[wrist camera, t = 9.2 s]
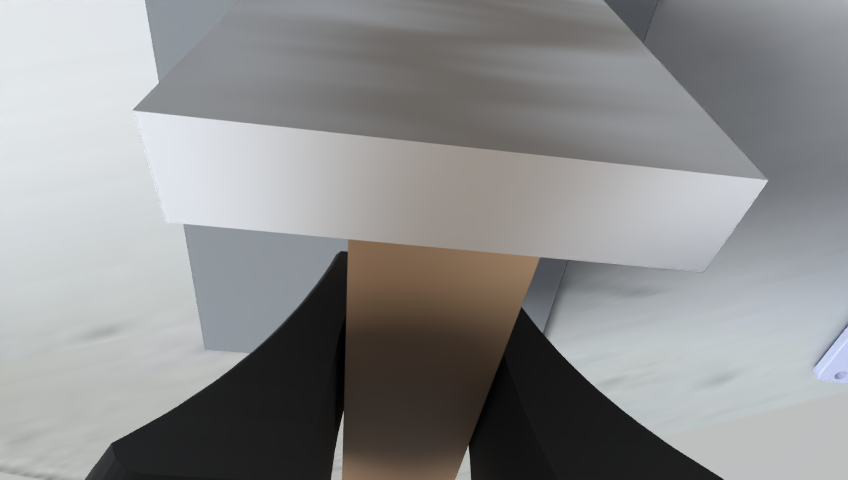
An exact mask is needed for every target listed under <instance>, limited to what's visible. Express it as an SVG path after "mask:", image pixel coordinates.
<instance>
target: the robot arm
mask: <svg viewBox="0 0 848 480" xmlns="http://www.w3.org/2000/svg"><path fill="white" fill-rule="evenodd" d="M347 270H348V252H347V251H340V252H339V253H337V254H336V256H335V257H334V259H333V261H332V263H331V264H330V266H329V267H328V269H327V270H326V272H325V273H324V275H323V276H322V277H321V279H320V280H319V281H318V283H317V284H316V285H315V287H314V288H313V289H312V290H311V292H310V293H309V294H308V295H307V297H306V298H305V299H304V300H303V301H302V303H301V304H300V305H299V306H298V307H297V308H296V309H295V310H294V311H293V313H292V314H291V315H290V316H289V317H288V318H287V319H286V320H285V321H284V322H283V323H282V324H281V325H280V326H279V327H278V328H277V329H276V330H275V331H274V332H273V333H272V334H271V335H270V336H269V337H268V338H267V339H266V340H265V341H264V342H263V343H262V344H260V345H259V346H258V347H257V348H256V349H255V350H254V351H253V352H251V353H250V354H249V355H248V356H247V357H245V358H244V359H243V360H242V361H240V362H239V363H238V364H237V365H235V366H234V367H233V368H232V369H230V370H229V371H228V372H227V373H225V374H224V375H223V376H221V377H220V378H219V379H217V380H216V381H214V382H213V383H212V384H210V385H209V386H207V387H206V388H204V389H203V390H201V391H200V392H198V393H197V394H195V395H194V396H192V397H191V398H189V399H188V400H186V401H185V402H183V403H182V404H180V405H179V406H177V407H176V408H174V409H172V410H171V411H169V412H168V413H166V414H164V415H162V416H161V417H159V418H157V419H155V420H153V421H152V422H150V423H148V424H146V425H144V426H143V427H141V428H139V429H137V430H135V431H134V432H132V433H130V434H128V435H126V436H124V437H123V438H121V439H119V440H117V441H115V442H113V443H111V445H110V446H109V447H108V449H107V450H106V452H105V453H104V454H103V456H102V457H101V458H100V460H99V461H98V462H97V464H96V465H95V466H94V467H93V469H92V470H91V472H90V473H89V474H88V476H87V477H86V479H85V480H331V474H332V467H333V460H334V453H335V447H336V442H337V437H338V432H339V427H340V423H341V419H342V415H343V411H344V388H345V349H346V309H347ZM813 373H814V374H815V376H816V377H817V378H818V379H819V380H821V381H828V382H840V383H848V327H847V328H846V329H845V330H844V332H843V333H842V334H841V335H840V336H839V338H838V339H837V340H836V341H835V343H834V344H833V345H832V346H831V348H830V349H829V350H828V351H827V353H826V354H825V355H824V356H823V358H822V359H821V360H820V361H819V363H818V364H817V365H816V366H815V368H814V370H813ZM469 454H470V467H471V480H723V479H722V478H721V477H719V476H718V475H716V474H714V473H713V472H711V471H710V470H708V469H706V468H705V467H703V466H701V465H700V464H699V463H697V462H695V461H694V460H692V459H691V458H689V457H687V456H686V455H684V454H683V453H681V452H679V451H678V450H676V449H675V448H673V447H672V446H670V445H669V444H667V443H666V442H664V441H663V440H662V439H660V438H659V437H658V436H656V435H655V434H653V433H652V432H651V431H649V430H648V429H646V428H645V427H644V426H642V425H641V424H639V423H638V422H637V421H636V420H634V419H633V418H632V417H630V416H629V415H628V414H626V413H625V412H624V411H623V410H621V409H620V408H619V407H618V406H617V405H615V404H614V403H613V402H612V401H611V400H609V399H608V398H607V397H606V396H605V395H603V394H602V393H601V392H600V391H599V390H598V389H596V388H595V387H594V386H593V385H592V384H591V383H590V382H589V381H588V380H586V379H585V378H584V377H583V376H582V375H581V374H580V373H579V372H578V371H577V370H576V369H575V368H574V367H573V366H572V365H571V364H570V363H569V362H568V361H567V360H566V359H565V358H564V357H563V356H562V355H561V354H560V353H559V352H558V350H557V349H556V348H555V347H554V346H553V345H552V344H551V343H550V341H549V340H548V339H547V338H546V337H545V336H544V334H543V333H542V332H541V331H540V330H539V328H538V327H537V326H536V325H535V323H534V322H533V321H532V319H531V318H530V317H529V316H528V314H527V313H526V312H525V310H524V309H523V308H522V306H521V309H520V311H519V314H518V317H517V319H516V322H515V324H514V327H513V330H512V332H511V335H510V337H509V340H508V343H507V345H506V348H505V351H504V353H503V356H502V358H501V361H500V364H499V366H498V369H497V371H496V374H495V377H494V379H493V382H492V384H491V387H490V390H489V392H488V395H487V398H486V400H485V403H484V405H483V408H482V411H481V413H480V416H479V418H478V421H477V424H476V426H475V429H474V431H473V434H472V437H471V439H470V442H469Z"/></svg>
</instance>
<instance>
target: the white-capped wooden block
mask: <svg viewBox="0 0 848 480" xmlns="http://www.w3.org/2000/svg"><path fill="white" fill-rule="evenodd" d="M132 111H133V115H134V118H135V122H136V125H137V128H138V132H139V135H140V139H141V142H142V145H143V149H144V152H145V155H146V159H147V162H148V166H149V169H150V172H151V176H152V179H153V183H154V186H155V189H156V193H157V196H158V200H159V203H160V206H161V210H162V213H163V216H164V220H165V222H169V223H180V224H191V225H202V226H212V227H223V228H234V229H244V230H255V231H266V232H277V233H287V234H298V235H309V236H319V237H330V238H341V239H348V270H347V309H346V349H345V388H344V428H343V468H342V480H455V478H456V476H457V473H458V471H459V468H460V465H461V463H462V460H463V458H464V455H465V452H466V450H467V447H468V444H469V442H470V439H471V437H472V434H473V431H474V429H475V426H476V424H477V421H478V418H479V416H480V413H481V411H482V408H483V405H484V403H485V400H486V398H487V395H488V392H489V390H490V387H491V384H492V382H493V379H494V377H495V374H496V371H497V369H498V366H499V364H500V361H501V358H502V356H503V353H504V351H505V348H506V345H507V343H508V340H509V337H510V335H511V332H512V330H513V327H514V324H515V322H516V319H517V317H518V314H519V311H520V309H521V306H522V304H523V301H524V298H525V296H526V293H527V290H528V288H529V285H530V283H531V280H532V277H533V275H534V272H535V270H536V267H537V264H538V262H539V259H540V257H544V258H555V259H566V260H576V261H587V262H598V263H608V264H619V265H630V266H641V267H651V268H662V269H673V270H683V271H694V272H704V271H705V270H706V268H707V267H708V265H709V264H710V263H711V261H712V260H713V258H714V257H715V256H716V254H717V253H718V251H719V250H720V249H721V247H722V246H723V244H724V243H725V241H726V240H727V239H728V237H729V236H730V234H731V233H732V232H733V230H734V229H735V227H736V226H737V224H738V223H739V222H740V220H741V219H742V217H743V216H744V215H745V213H746V212H747V210H748V209H749V207H750V206H751V205H752V203H753V202H754V200H755V199H756V198H757V196H758V195H759V193H760V192H761V191H762V189H763V188H764V186H765V185H766V183H767V182H768V181H769V180H768V179H767V178H766V177H765V176H764V175H763V173H762V172H761V171H760V170H759V169H758V168H757V167H756V166H755V165H754V164H753V163H752V162H751V160H750V159H749V158H748V157H747V156H746V155H745V154H744V153H743V152H742V151H741V150H740V148H739V147H738V146H737V145H736V144H735V143H734V142H733V141H732V140H731V139H730V138H729V136H728V135H727V134H726V133H725V132H724V131H723V130H722V129H721V128H720V127H719V126H718V124H717V123H716V122H715V121H714V120H713V119H712V118H711V117H710V116H709V115H708V114H707V113H706V111H705V110H704V109H703V108H702V107H701V106H700V105H699V104H698V103H697V102H696V101H695V99H694V98H693V97H692V96H691V95H690V94H689V93H688V92H687V91H686V90H685V89H684V87H683V86H682V85H681V84H680V83H679V82H678V81H677V80H676V79H675V78H674V77H673V75H672V74H671V73H670V72H669V71H668V70H667V69H666V68H665V67H664V66H663V65H662V64H661V62H660V61H659V60H658V59H657V58H656V57H655V56H654V55H653V54H652V53H651V52H650V50H649V49H648V48H647V47H646V46H645V45H644V44H643V43H642V42H641V41H640V40H639V38H638V37H637V36H636V35H635V34H634V33H633V32H632V31H631V30H630V29H629V28H628V26H627V25H626V24H625V23H624V22H623V21H622V20H621V19H620V18H619V17H618V16H617V15H616V13H615V12H614V11H613V10H612V9H611V8H610V7H609V6H608V5H607V4H606V3H605V1H604V0H240V1H239V2H238V3H237V4H236V5H235V6H234V7H233V8H232V9H231V10H230V11H229V12H228V13H227V14H226V15H225V16H224V17H223V18H222V19H221V20H220V21H219V22H218V23H217V24H216V25H215V26H214V27H213V28H212V29H211V30H210V31H209V32H208V34H207V35H206V36H205V37H204V38H203V39H202V40H201V41H200V42H199V43H198V44H197V45H196V46H195V47H194V48H193V49H192V50H191V51H190V52H189V53H188V54H187V55H186V56H185V57H184V58H183V59H182V60H181V61H180V62H179V63H178V64H177V65H176V66H175V67H174V68H173V69H172V70H171V71H170V72H169V73H168V74H167V75H166V76H165V78H164V79H163V80H162V81H161V82H160V83H159V84H158V85H157V86H156V87H155V88H154V89H153V90H152V91H151V92H150V93H149V94H148V95H147V96H146V97H145V98H144V99H143V100H142V101H141V102H140V103H139V104H138V105H137V106H136V107H135V108H134V109H133V110H132Z"/></svg>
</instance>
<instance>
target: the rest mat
mask: <svg viewBox="0 0 848 480" xmlns="http://www.w3.org/2000/svg"><path fill="white" fill-rule="evenodd" d="M239 1H240V0H145V3H146V9H147V15H148V21H149V27H150V32H151V38H152V44H153V50H154V56H155V62H156V67H157V73H158V79H159V83H160V82H161V81H162V80H163V79H164V78H165V76H166V75H167V74H168V73H169V72H170V71H171V70H172V69H173V68H174V67H175V66H176V65H177V64H178V63H179V62H180V61H181V60H182V59H183V58H184V57H185V56H186V55H187V54H188V53H189V52H190V51H191V50H192V49H193V48H194V47H195V46H196V45H197V44H198V43H199V42H200V41H201V40H202V39H203V38H204V37H205V36H206V35H207V34H208V32H209V31H210V30H211V29H212V28H213V27H214V26H215V25H216V24H217V23H218V22H219V21H220V20H221V19H222V18H223V17H224V16H225V15H226V14H227V13H228V12H229V11H230V10H231V9H232V8H233V7H234V6H235V5H236V4H237V3H238V2H239ZM604 1H605V3H606V4H607V5H608V6H609V7H610V8H611V9H612V10H613V11H614V12H615V13H616V15H617V16H618V17H619V18H620V19H621V20H622V21H623V22H624V23H625V24H626V25H627V26H628V28H629V29H630V30H631V31H632V32H633V33H634V34H635V35H636V36H637V37H638V38H639V40H640V41H641V42H642V43H644V40H645V37H646V34H647V31H648V28H649V25H650V22H651V20H652V17H653V14H654V11H655V8H656V5H657V2H658V0H604ZM184 230H185V236H186V242H187V248H188V253H189V259H190V265H191V271H192V277H193V283H194V288H195V294H196V300H197V306H198V312H199V317H200V323H201V329H202V335H203V341H204V347H205V350H217V351H230V352H243V353H251V352H253V351H254V350H255V349H256V348H257V347H258V346H259V345H260V344H262V343H263V342H264V341H265V340H266V339H267V338H268V337H269V336H270V335H271V334H272V333H273V332H274V331H275V330H276V329H277V328H278V327H279V326H280V325H281V324H282V323H283V322H284V321H285V320H286V319H287V318H288V317H289V316H290V315H291V314H292V313H293V311H294V310H295V309H296V308H297V307H298V306H299V305H300V304H301V303H302V301H303V300H304V299H305V298H306V297H307V295H308V294H309V293H310V292H311V290H312V289H313V288H314V287H315V285H316V284H317V283H318V281H319V280H320V279H321V277H322V276H323V275H324V273H325V272H326V270H327V269H328V267H329V266H330V264H331V263H332V261H333V259H334V257H335V256H336V254H337V253H339V252H340V251H347V252H348V239H341V238H330V237H319V236H309V235H298V234H287V233H277V232H266V231H255V230H244V229H234V228H223V227H212V226H202V225H191V224H184ZM567 262H568V260H566V259H555V258H544V257H540V259H539V262H538V264H537V267H536V270H535V272H534V275H533V277H532V280H531V283H530V285H529V288H528V290H527V293H526V296H525V298H524V301H523V304H522V308H523V309H524V310H525V312H526V313H527V314H528V316H529V317H530V318H531V319H532V321H533V322H534V323H535V325H536V326H537V327H538V328H539V330H540V331H541V332H542V333H543V331H544V328H545V325H546V322H547V319H548V316H549V313H550V311H551V308H552V305H553V302H554V299H555V296H556V293H557V290H558V288H559V285H560V282H561V279H562V276H563V273H564V270H565V267H566V264H567Z"/></svg>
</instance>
